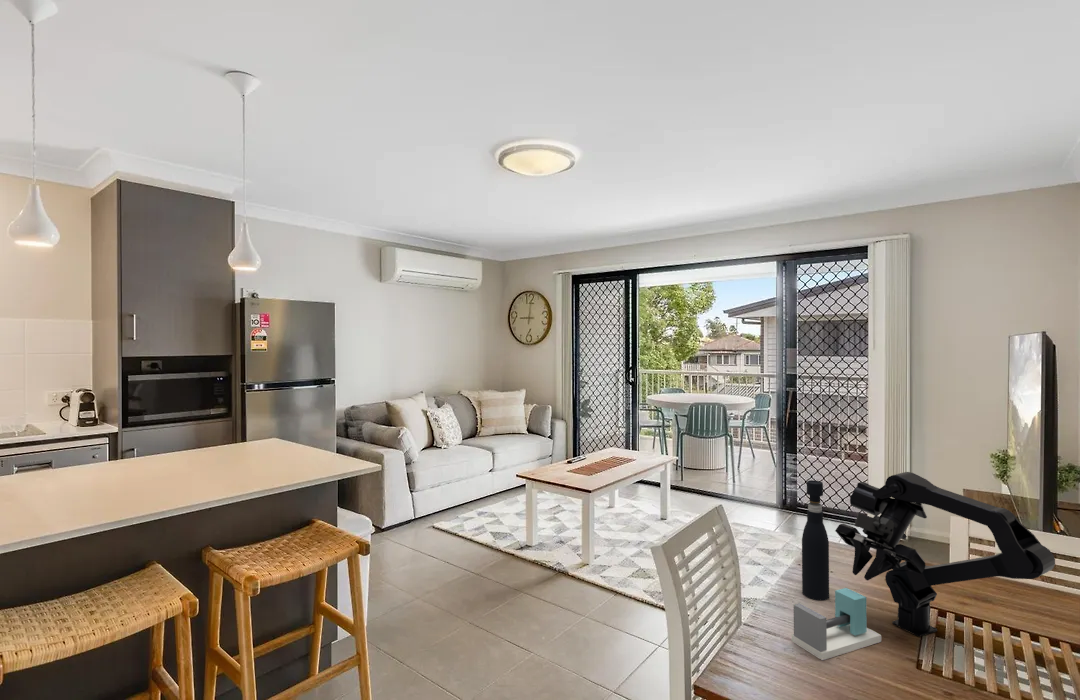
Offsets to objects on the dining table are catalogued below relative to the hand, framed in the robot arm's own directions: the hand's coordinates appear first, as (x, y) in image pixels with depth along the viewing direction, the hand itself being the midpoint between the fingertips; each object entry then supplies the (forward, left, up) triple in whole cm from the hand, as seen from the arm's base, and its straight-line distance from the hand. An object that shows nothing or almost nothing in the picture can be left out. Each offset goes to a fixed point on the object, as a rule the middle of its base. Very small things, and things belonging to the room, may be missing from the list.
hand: (859, 576), depth 124 cm
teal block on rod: (+3, 0, -11) cm, 12 cm away
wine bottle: (-7, -18, -13) cm, 23 cm away
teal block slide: (+8, 0, -13) cm, 15 cm away
